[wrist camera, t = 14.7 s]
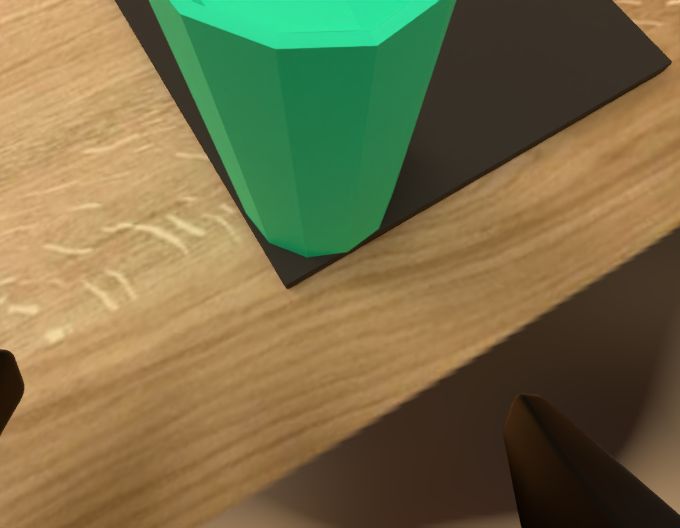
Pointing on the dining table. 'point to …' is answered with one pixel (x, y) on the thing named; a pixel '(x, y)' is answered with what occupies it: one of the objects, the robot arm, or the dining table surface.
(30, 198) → the dining table surface
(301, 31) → the candle
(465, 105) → the mat
